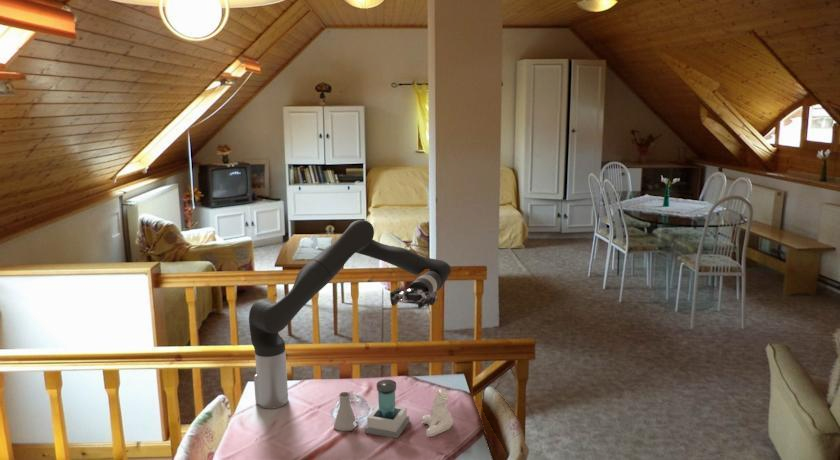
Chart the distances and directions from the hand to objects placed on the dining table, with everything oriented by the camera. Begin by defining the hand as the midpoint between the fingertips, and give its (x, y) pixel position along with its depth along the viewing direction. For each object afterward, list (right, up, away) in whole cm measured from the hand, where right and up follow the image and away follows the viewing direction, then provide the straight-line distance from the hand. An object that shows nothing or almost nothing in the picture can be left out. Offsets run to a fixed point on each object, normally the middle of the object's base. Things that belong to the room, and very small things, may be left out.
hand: (406, 304), depth 193 cm
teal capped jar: (-5, -33, -9) cm, 35 cm away
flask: (-17, -35, -8) cm, 40 cm away
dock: (-5, -35, -9) cm, 36 cm away
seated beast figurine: (+10, -35, -10) cm, 38 cm away
